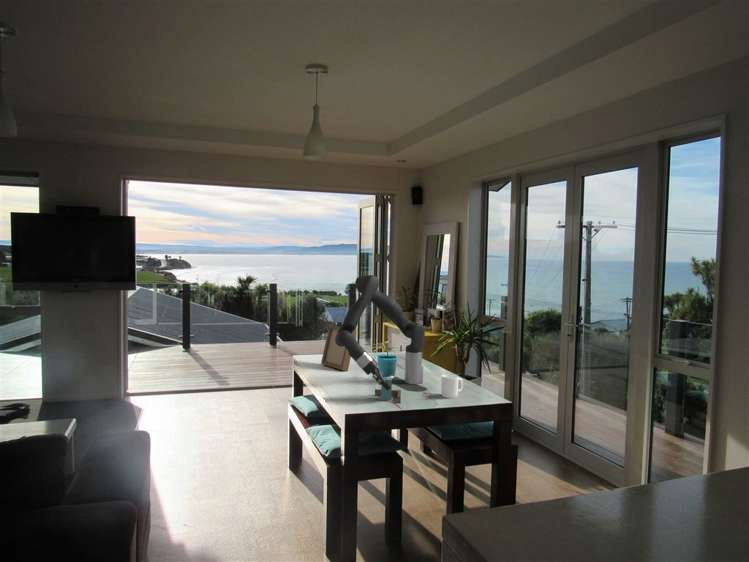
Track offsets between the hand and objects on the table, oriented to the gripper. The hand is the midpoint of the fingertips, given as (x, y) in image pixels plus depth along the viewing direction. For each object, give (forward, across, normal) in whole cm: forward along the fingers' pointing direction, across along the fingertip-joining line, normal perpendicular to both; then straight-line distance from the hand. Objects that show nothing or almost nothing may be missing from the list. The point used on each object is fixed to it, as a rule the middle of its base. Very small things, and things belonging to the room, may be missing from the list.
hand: (389, 386), depth 270 cm
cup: (+27, +11, -18) cm, 34 cm away
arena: (+3, 0, +5) cm, 6 cm away
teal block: (+3, 0, +5) cm, 6 cm away
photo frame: (-18, +68, +27) cm, 75 cm away
